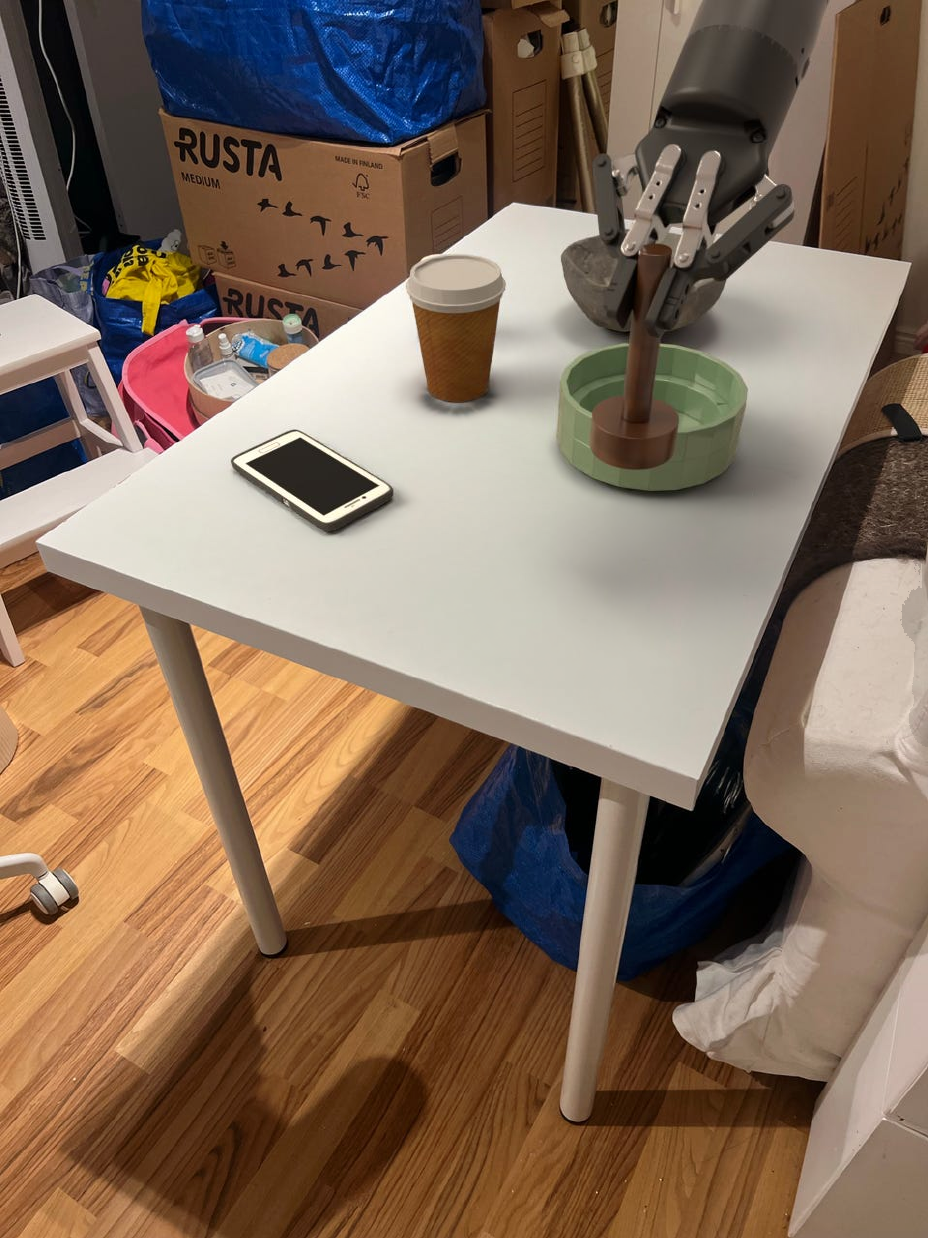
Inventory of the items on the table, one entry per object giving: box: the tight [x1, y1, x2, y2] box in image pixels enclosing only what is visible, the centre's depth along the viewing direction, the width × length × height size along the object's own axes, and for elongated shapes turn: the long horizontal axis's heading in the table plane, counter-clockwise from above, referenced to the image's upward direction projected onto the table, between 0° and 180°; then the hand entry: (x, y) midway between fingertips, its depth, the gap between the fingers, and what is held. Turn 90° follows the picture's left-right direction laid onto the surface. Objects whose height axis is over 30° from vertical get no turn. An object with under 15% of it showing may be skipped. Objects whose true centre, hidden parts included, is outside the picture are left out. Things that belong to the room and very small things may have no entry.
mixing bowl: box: [556, 342, 749, 492], centre depth 83 cm, size 16×16×6 cm
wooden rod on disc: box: [590, 243, 679, 470], centre depth 60 cm, size 6×6×14 cm
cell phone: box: [230, 428, 394, 532], centre depth 81 cm, size 8×15×1 cm, turn 45°
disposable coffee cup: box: [405, 253, 507, 403], centre depth 90 cm, size 10×10×12 cm
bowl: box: [560, 228, 728, 333], centre depth 101 cm, size 18×18×8 cm
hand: (634, 326), depth 57 cm, fingers closed on wooden rod on disc
